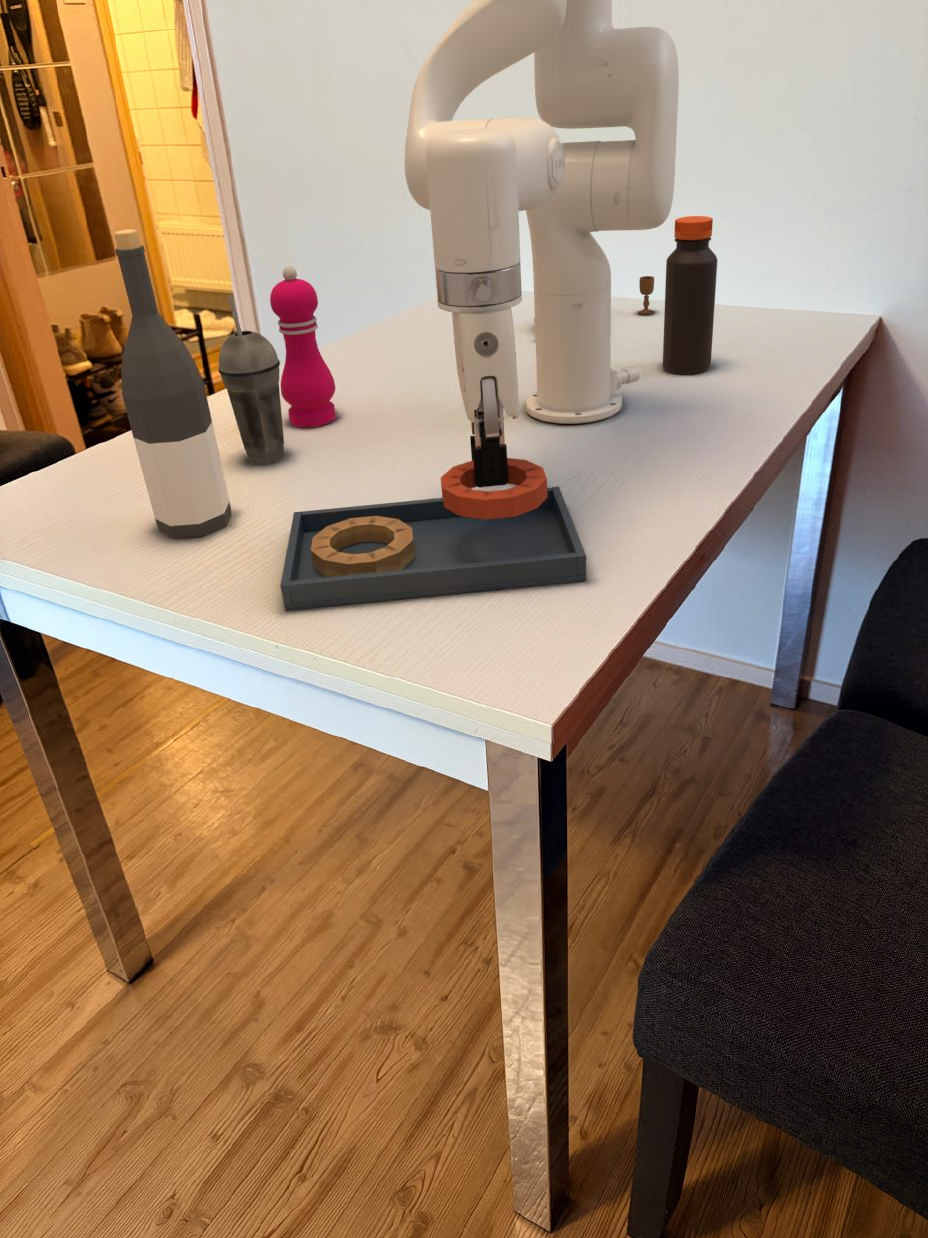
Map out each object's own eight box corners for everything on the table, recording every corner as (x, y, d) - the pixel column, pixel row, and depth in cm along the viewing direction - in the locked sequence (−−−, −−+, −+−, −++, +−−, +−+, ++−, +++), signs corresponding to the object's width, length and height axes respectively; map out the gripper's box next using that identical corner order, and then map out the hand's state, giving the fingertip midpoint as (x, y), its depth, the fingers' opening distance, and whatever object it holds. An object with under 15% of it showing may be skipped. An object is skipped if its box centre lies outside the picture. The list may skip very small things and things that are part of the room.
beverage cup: (306, 448, 121) (278, 285, 111) (278, 470, 115) (246, 301, 105) (255, 445, 123) (224, 285, 113) (226, 467, 118) (190, 300, 107)
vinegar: (695, 357, 141) (703, 212, 131) (719, 370, 136) (730, 219, 125) (653, 365, 140) (658, 218, 129) (676, 378, 134) (683, 226, 123)
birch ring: (413, 529, 98) (411, 512, 97) (416, 575, 89) (414, 557, 88) (317, 539, 98) (314, 521, 96) (311, 586, 89) (308, 567, 88)
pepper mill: (330, 429, 126) (306, 272, 116) (278, 429, 128) (250, 273, 117) (346, 410, 132) (325, 259, 122) (297, 410, 134) (272, 260, 123)
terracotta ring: (537, 472, 95) (537, 453, 94) (553, 513, 87) (553, 492, 86) (439, 481, 95) (438, 462, 94) (446, 523, 87) (444, 503, 86)
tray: (559, 508, 101) (559, 486, 100) (586, 580, 88) (586, 555, 86) (297, 534, 100) (293, 511, 99) (285, 610, 87) (280, 585, 86)
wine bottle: (163, 546, 100) (83, 243, 84) (153, 517, 106) (76, 231, 91) (240, 528, 103) (175, 230, 87) (225, 500, 109) (162, 219, 93)
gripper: (533, 303, 78) (539, 509, 88) (510, 264, 92) (518, 446, 101) (441, 311, 78) (457, 517, 87) (432, 271, 91) (447, 453, 101)
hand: (490, 477), depth 94 cm, fingers closed on terracotta ring, 2 cm apart
